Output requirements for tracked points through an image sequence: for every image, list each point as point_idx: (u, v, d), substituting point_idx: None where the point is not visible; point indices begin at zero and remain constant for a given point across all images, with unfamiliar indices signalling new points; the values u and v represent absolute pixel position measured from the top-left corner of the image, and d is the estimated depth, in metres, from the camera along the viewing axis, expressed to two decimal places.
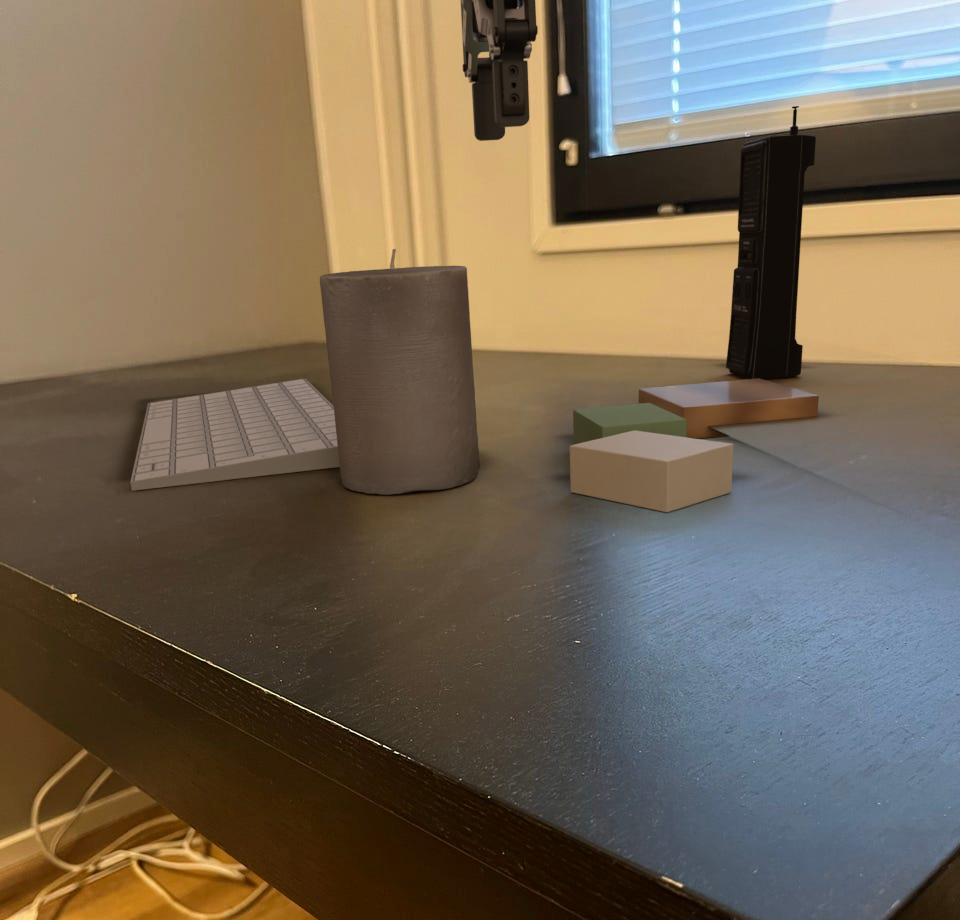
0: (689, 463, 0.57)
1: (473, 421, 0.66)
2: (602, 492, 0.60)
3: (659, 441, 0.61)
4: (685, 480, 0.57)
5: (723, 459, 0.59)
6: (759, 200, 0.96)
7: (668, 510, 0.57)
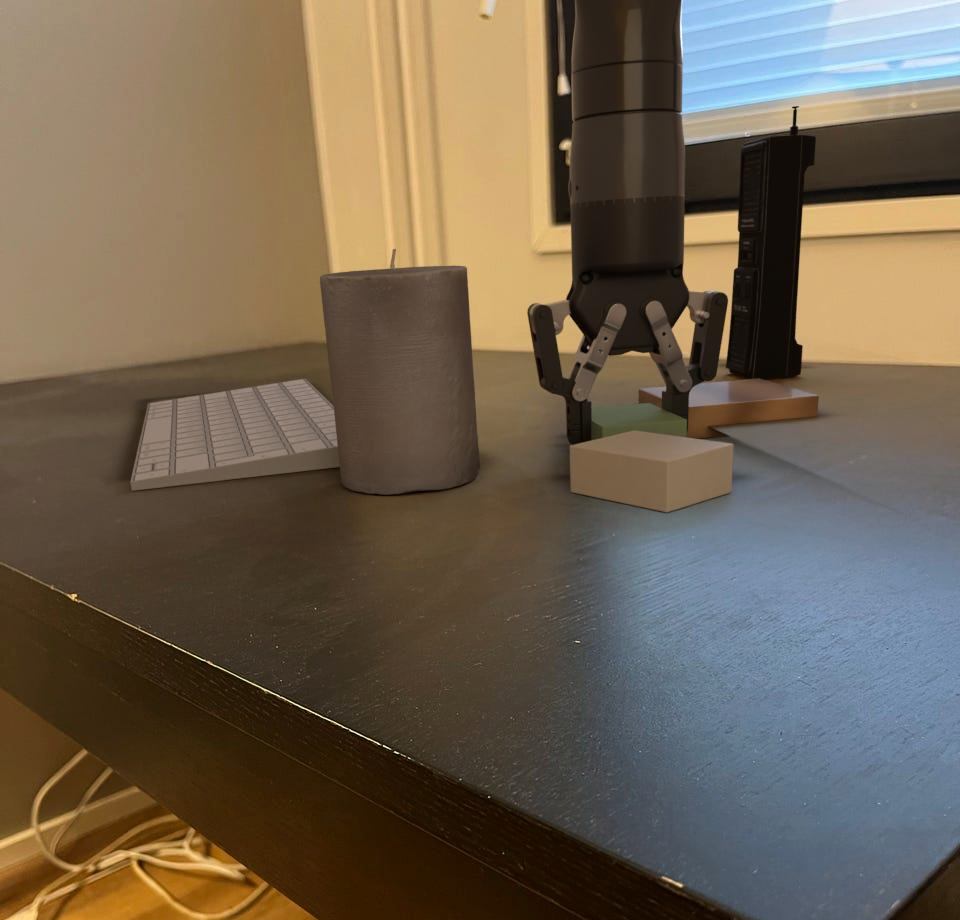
0: (689, 463, 0.57)
1: (473, 421, 0.66)
2: (602, 492, 0.60)
3: (659, 441, 0.61)
4: (685, 480, 0.57)
5: (723, 459, 0.59)
6: (759, 200, 0.96)
7: (668, 510, 0.57)
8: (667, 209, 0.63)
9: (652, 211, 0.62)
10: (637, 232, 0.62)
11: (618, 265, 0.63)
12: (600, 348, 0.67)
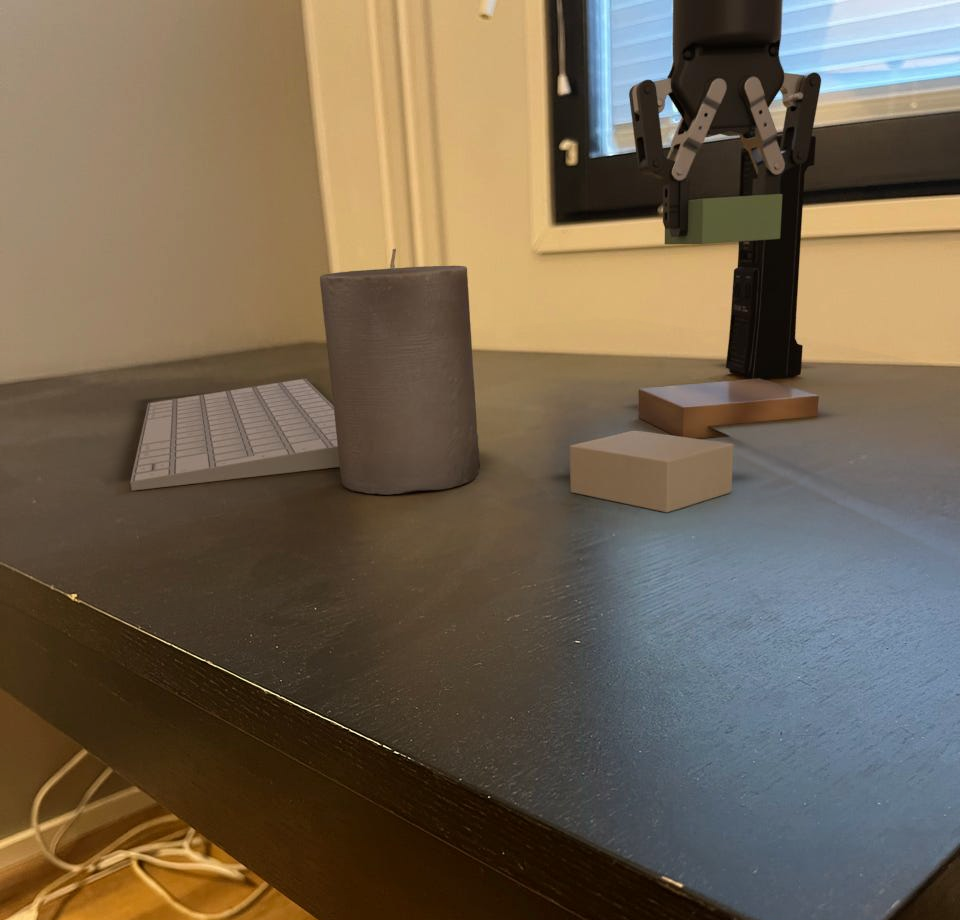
0: (689, 463, 0.57)
1: (473, 421, 0.66)
2: (602, 492, 0.60)
3: (659, 441, 0.61)
4: (685, 480, 0.57)
5: (723, 459, 0.59)
6: None
7: (668, 510, 0.57)
8: None
9: None
10: None
11: (722, 34, 0.67)
12: (700, 124, 0.70)
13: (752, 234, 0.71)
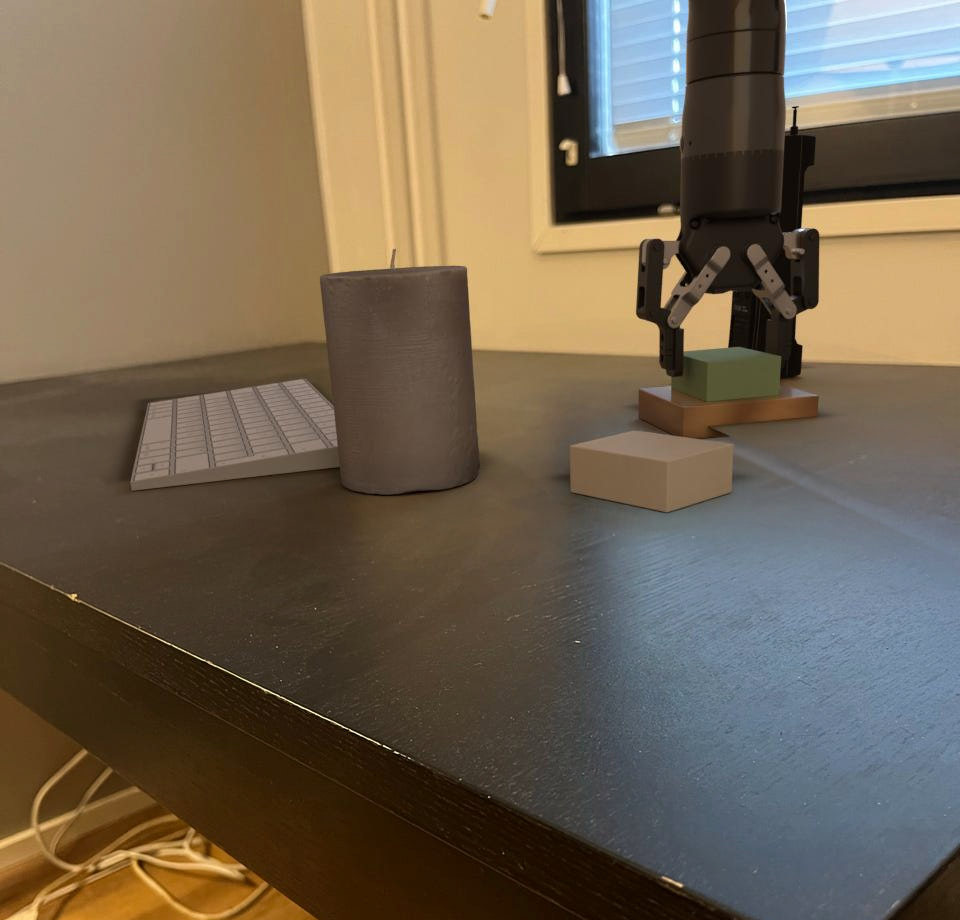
0: (689, 463, 0.57)
1: (473, 421, 0.66)
2: (602, 492, 0.60)
3: (659, 441, 0.61)
4: (685, 480, 0.57)
5: (723, 459, 0.59)
6: None
7: (668, 510, 0.57)
8: (771, 161, 0.71)
9: (758, 162, 0.71)
10: (745, 181, 0.71)
11: (726, 211, 0.72)
12: (701, 283, 0.75)
13: (753, 392, 0.77)
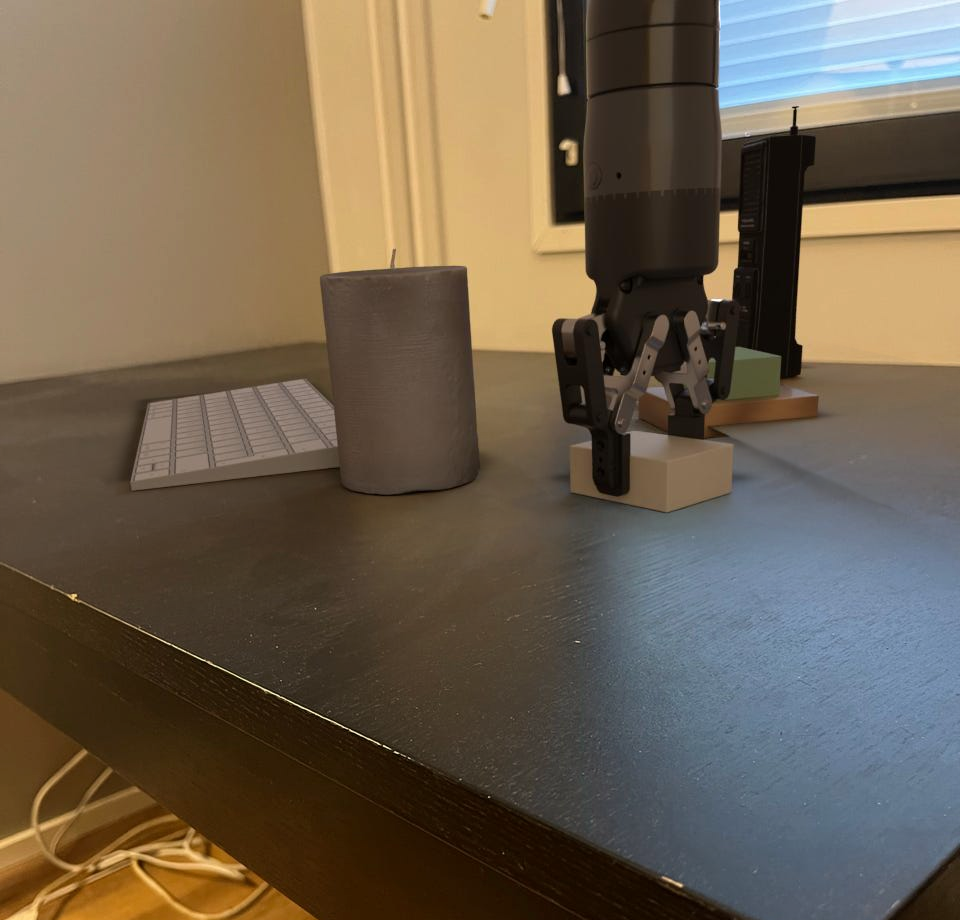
0: (689, 463, 0.57)
1: (473, 421, 0.66)
2: None
3: (659, 441, 0.61)
4: (685, 480, 0.57)
5: (723, 459, 0.59)
6: (759, 200, 0.96)
7: (668, 510, 0.57)
8: (718, 203, 0.54)
9: (710, 205, 0.53)
10: (698, 229, 0.53)
11: (677, 268, 0.53)
12: (644, 369, 0.56)
13: (753, 392, 0.77)
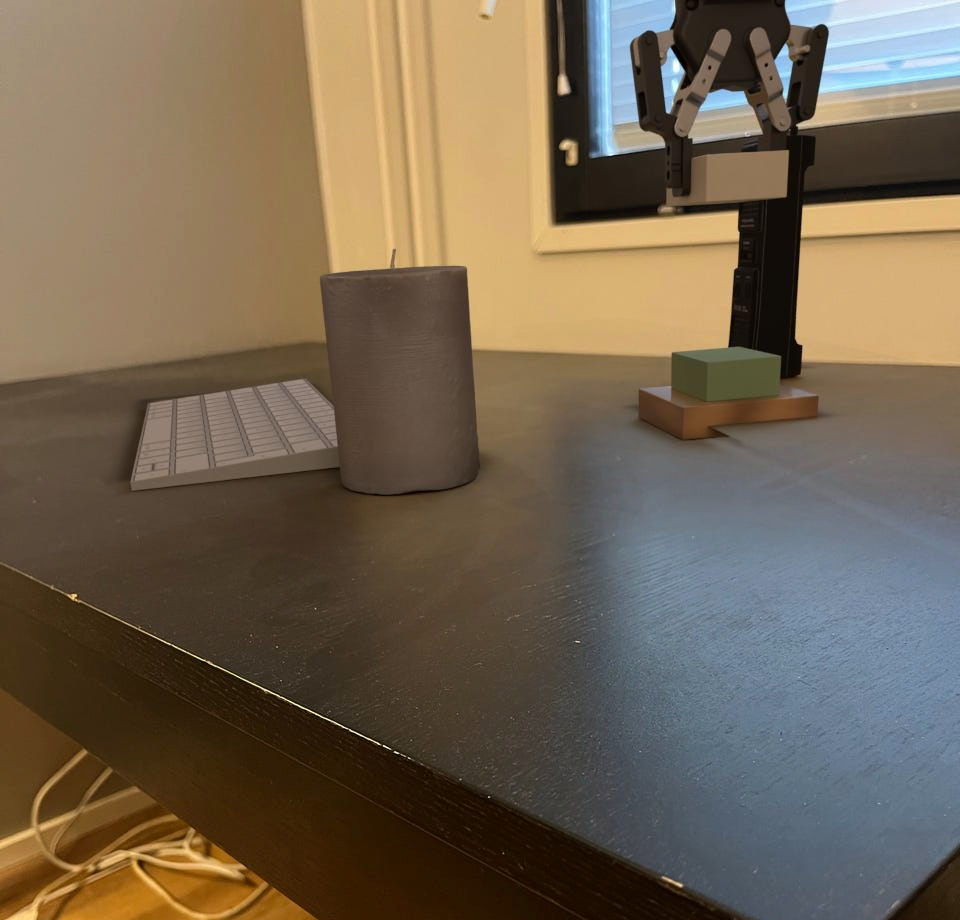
0: (733, 160, 0.68)
1: (473, 421, 0.66)
2: (679, 199, 0.73)
3: None
4: (728, 175, 0.68)
5: (775, 163, 0.68)
6: (759, 200, 0.96)
7: (707, 200, 0.68)
8: None
9: None
10: None
11: None
12: (704, 78, 0.67)
13: (753, 392, 0.77)
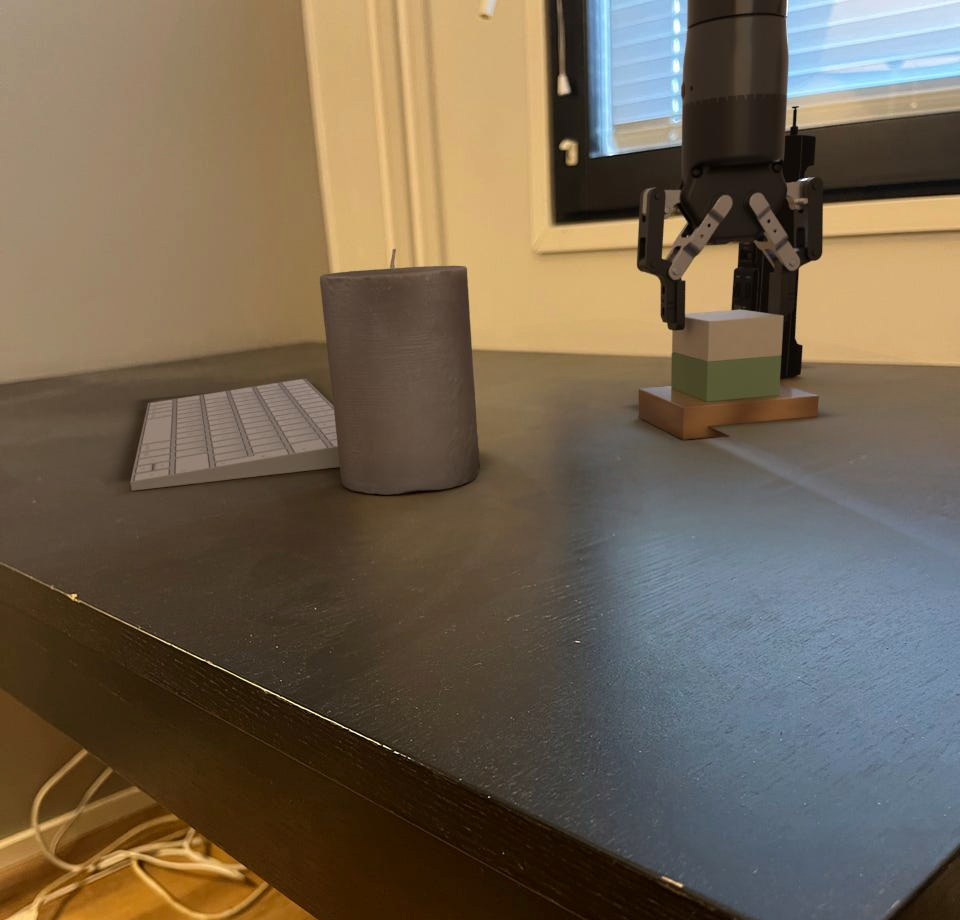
0: (732, 325, 0.74)
1: (473, 421, 0.66)
2: (683, 349, 0.80)
3: (737, 313, 0.78)
4: (728, 338, 0.75)
5: (771, 327, 0.75)
6: None
7: (709, 360, 0.75)
8: (774, 105, 0.70)
9: (761, 107, 0.70)
10: (747, 126, 0.70)
11: (728, 157, 0.71)
12: (702, 233, 0.74)
13: (753, 392, 0.77)
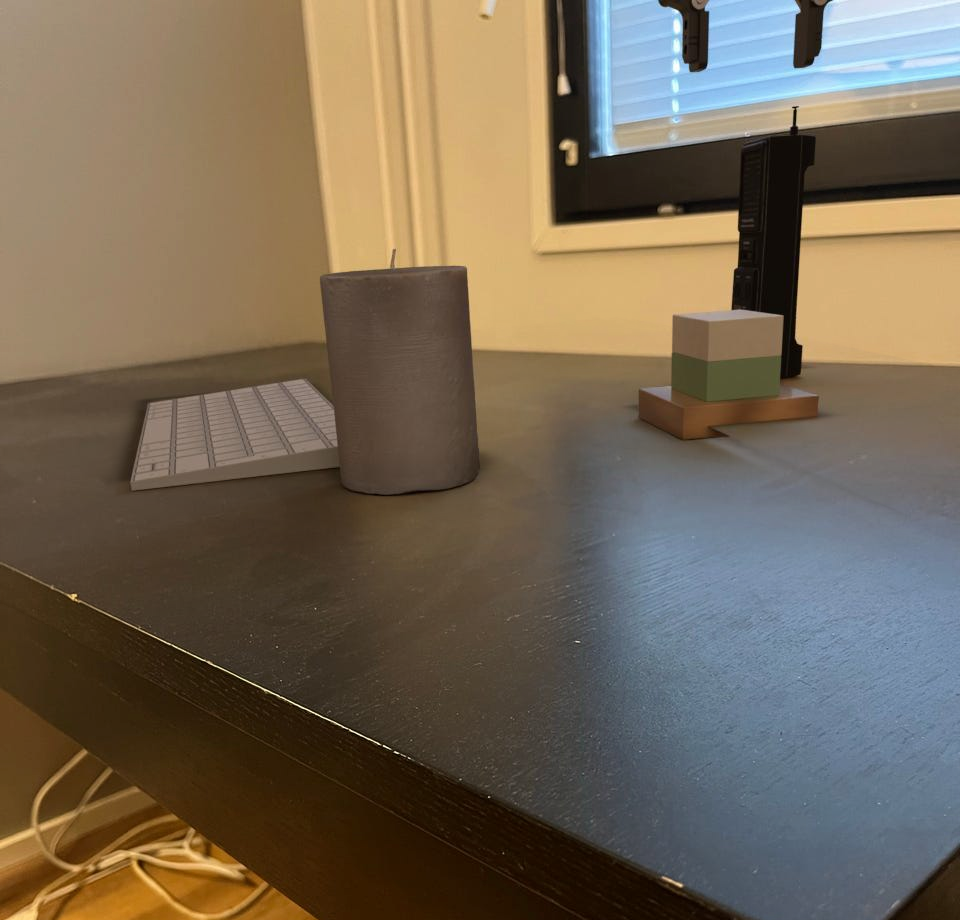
0: (732, 325, 0.74)
1: (473, 421, 0.66)
2: (683, 349, 0.80)
3: (737, 313, 0.78)
4: (728, 338, 0.75)
5: (771, 327, 0.75)
6: (759, 200, 0.96)
7: (709, 360, 0.75)
8: None
9: None
10: None
11: None
12: None
13: (753, 392, 0.77)
